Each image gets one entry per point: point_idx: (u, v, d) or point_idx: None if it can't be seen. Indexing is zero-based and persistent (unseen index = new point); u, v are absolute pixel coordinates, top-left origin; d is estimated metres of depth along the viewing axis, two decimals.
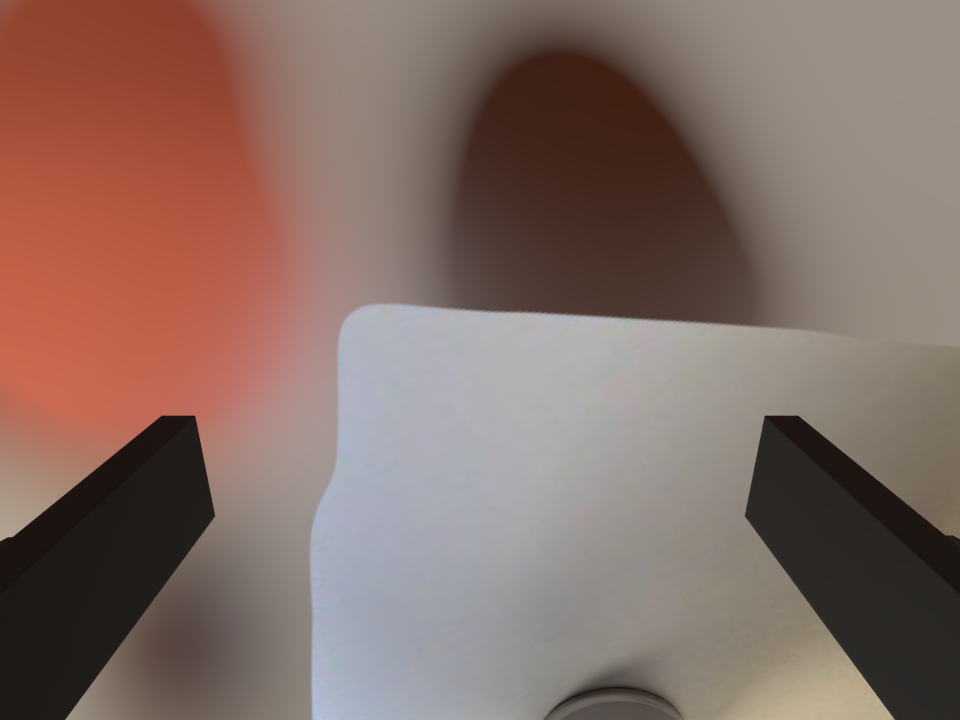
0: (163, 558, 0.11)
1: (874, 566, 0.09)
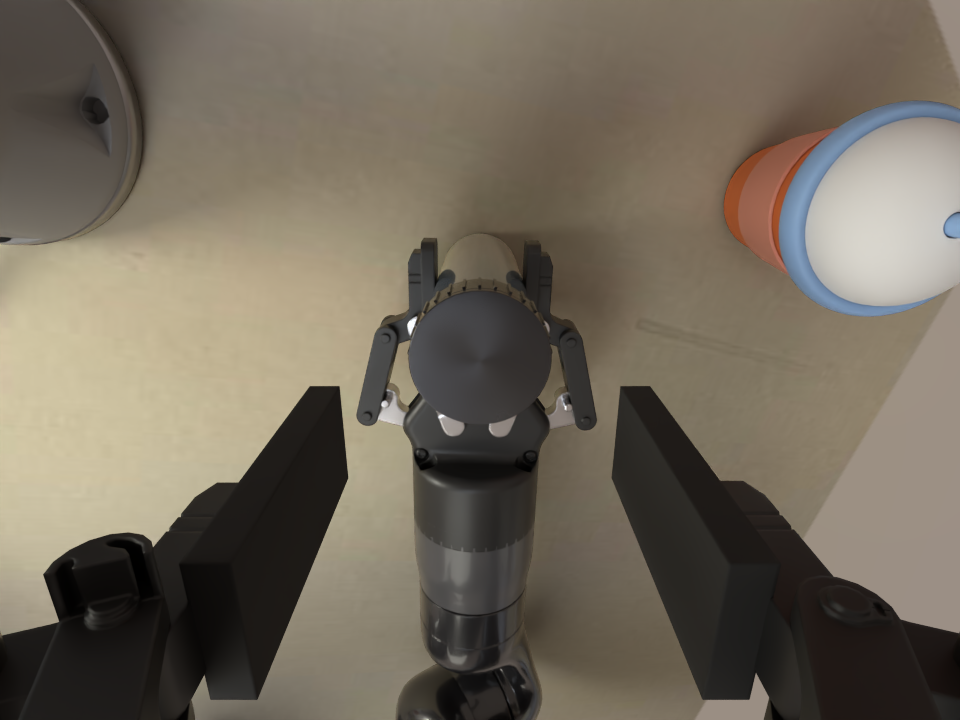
0: (325, 508, 0.13)
1: (666, 504, 0.11)
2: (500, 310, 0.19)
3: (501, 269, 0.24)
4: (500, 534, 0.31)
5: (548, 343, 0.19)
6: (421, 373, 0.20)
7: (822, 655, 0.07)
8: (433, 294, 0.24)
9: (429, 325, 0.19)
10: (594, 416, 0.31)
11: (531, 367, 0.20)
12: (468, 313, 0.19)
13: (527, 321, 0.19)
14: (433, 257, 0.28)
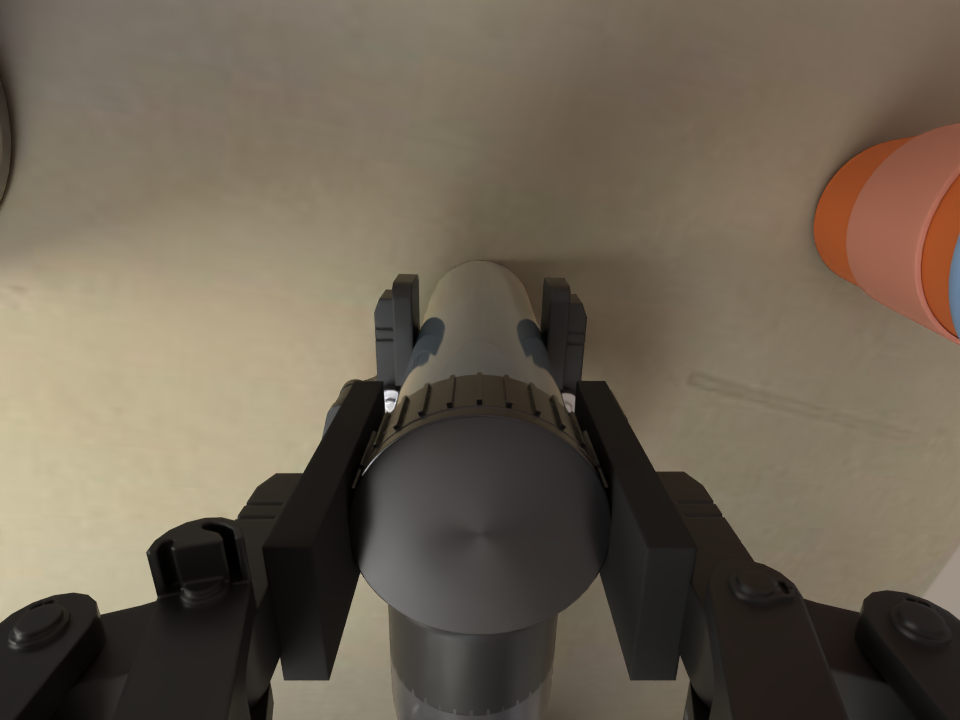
0: None
1: None
2: (519, 449, 0.10)
3: (514, 335, 0.15)
4: (508, 690, 0.22)
5: (608, 505, 0.10)
6: (373, 555, 0.11)
7: (731, 637, 0.07)
8: (405, 377, 0.15)
9: (384, 475, 0.10)
10: None
11: (574, 545, 0.11)
12: (458, 455, 0.10)
13: (570, 468, 0.10)
14: (411, 305, 0.19)
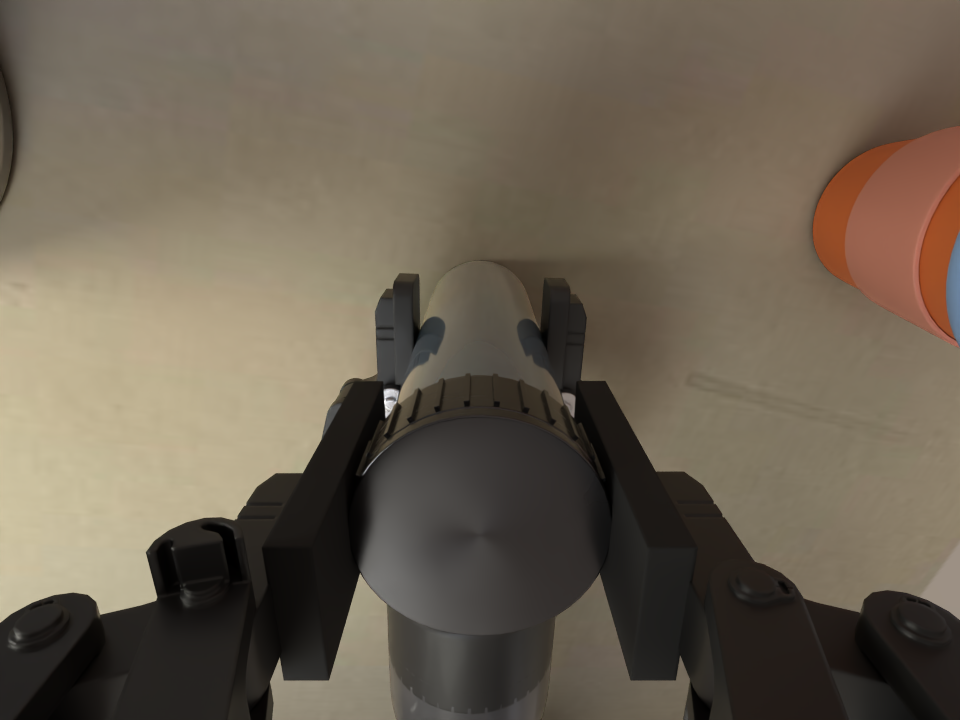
0: None
1: None
2: (380, 507, 0.10)
3: (514, 335, 0.15)
4: (506, 689, 0.22)
5: (438, 423, 0.10)
6: (507, 618, 0.11)
7: (731, 637, 0.07)
8: (405, 376, 0.15)
9: (418, 608, 0.11)
10: None
11: (490, 450, 0.10)
12: (391, 555, 0.11)
13: (396, 463, 0.10)
14: (411, 304, 0.19)
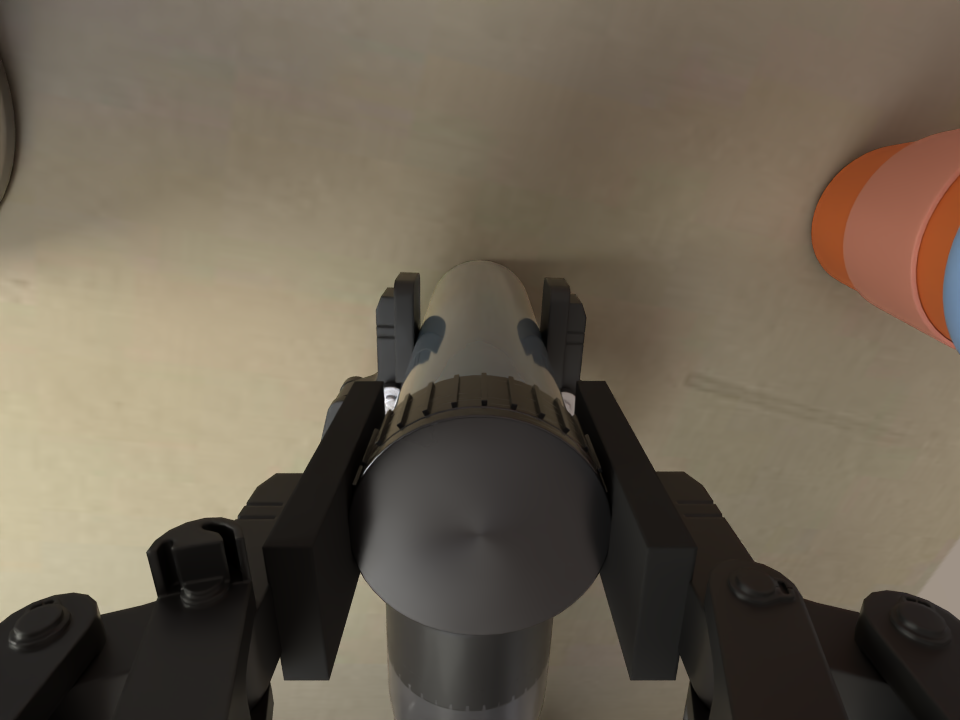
0: None
1: None
2: (452, 612, 0.11)
3: (514, 334, 0.15)
4: (504, 686, 0.22)
5: (360, 569, 0.11)
6: (588, 506, 0.10)
7: (731, 637, 0.07)
8: (406, 374, 0.15)
9: (572, 583, 0.11)
10: None
11: (383, 529, 0.11)
12: (505, 605, 0.11)
13: (403, 599, 0.11)
14: (412, 303, 0.19)
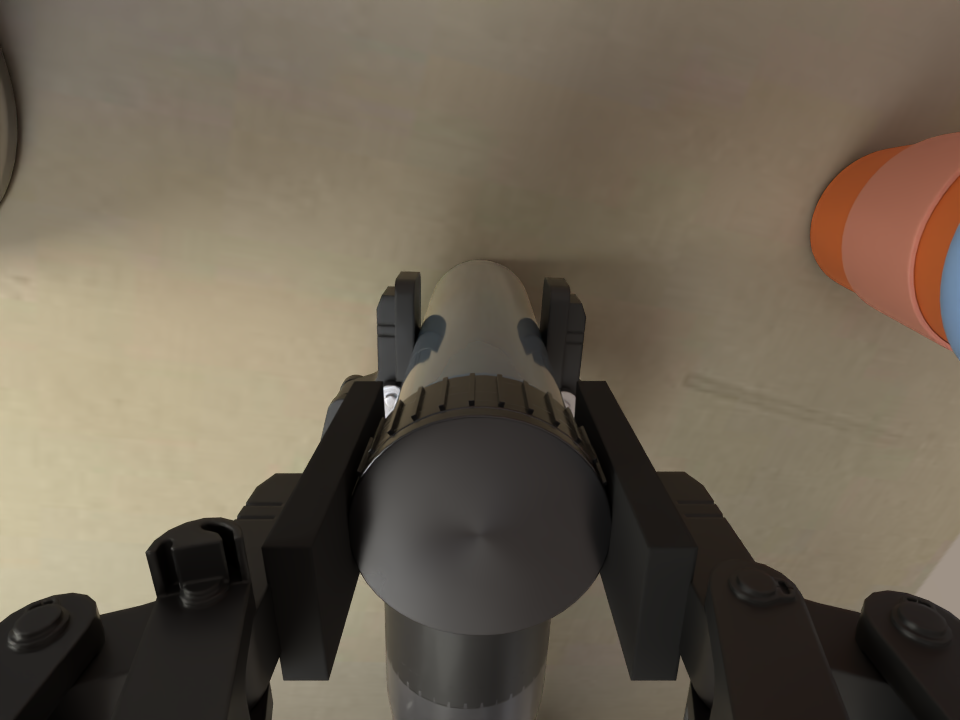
0: None
1: None
2: (578, 556, 0.11)
3: (514, 333, 0.16)
4: (501, 684, 0.22)
5: (523, 627, 0.11)
6: (440, 442, 0.10)
7: (731, 637, 0.07)
8: (407, 373, 0.15)
9: (541, 448, 0.10)
10: None
11: (477, 610, 0.11)
12: (569, 509, 0.10)
13: (560, 596, 0.11)
14: (413, 302, 0.19)
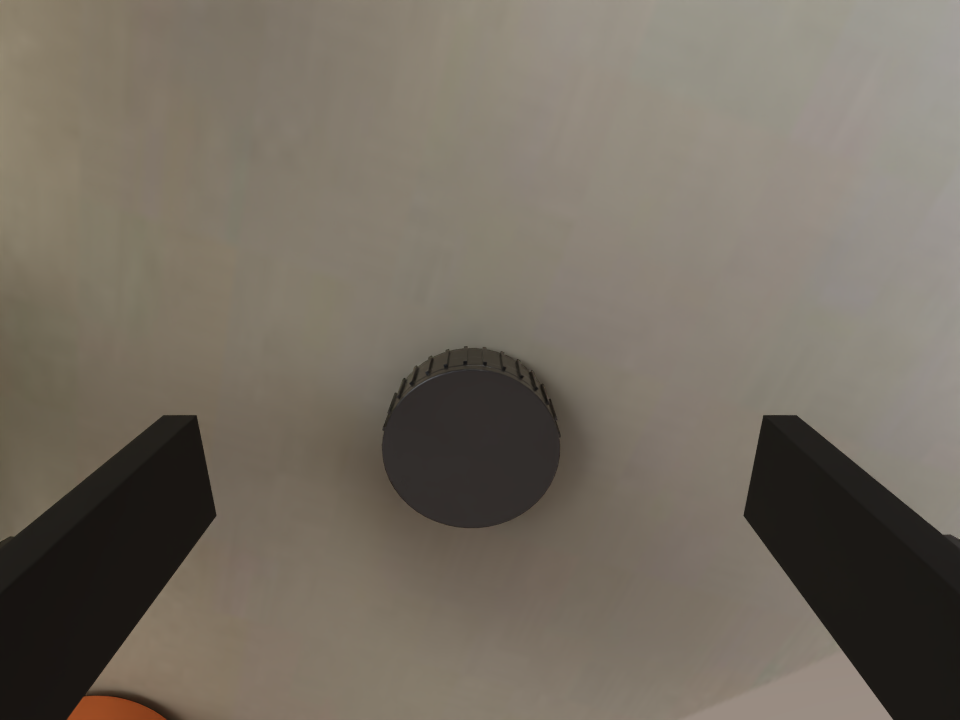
0: (165, 557, 0.11)
1: (872, 565, 0.09)
2: (537, 468, 0.16)
3: None
4: None
5: (502, 522, 0.17)
6: (444, 387, 0.15)
7: None
8: None
9: (510, 391, 0.15)
10: None
11: (469, 509, 0.16)
12: (530, 434, 0.16)
13: (526, 497, 0.16)
14: None
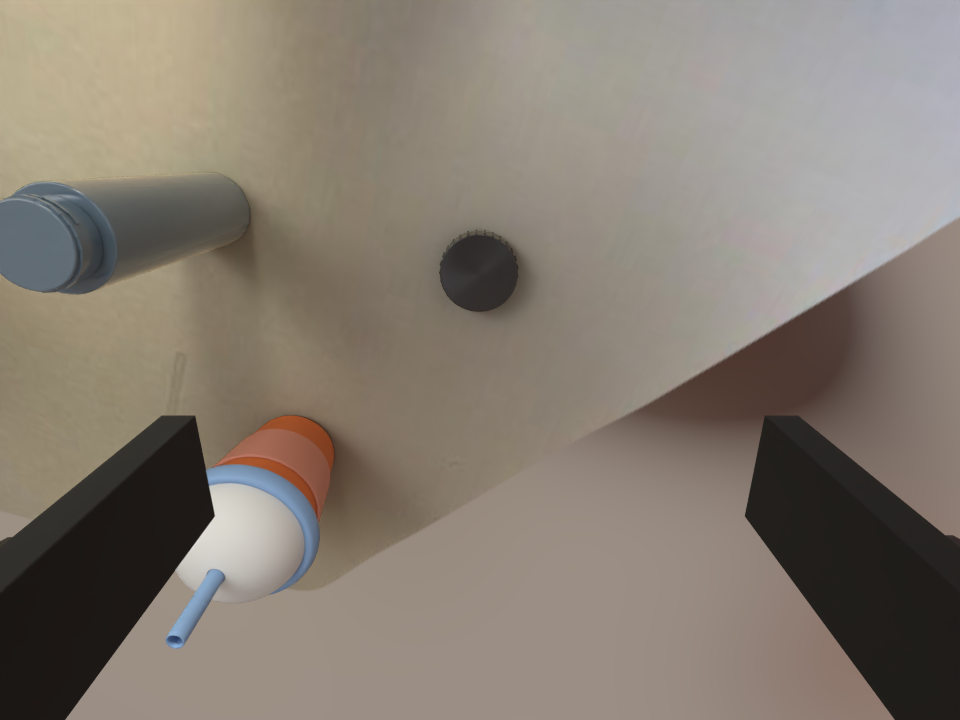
0: (163, 558, 0.11)
1: (874, 566, 0.09)
2: (507, 281, 0.36)
3: (161, 251, 0.27)
4: None
5: (492, 308, 0.37)
6: (467, 243, 0.35)
7: None
8: (122, 188, 0.25)
9: (495, 244, 0.36)
10: None
11: (478, 301, 0.37)
12: (504, 265, 0.36)
13: (503, 296, 0.37)
14: None
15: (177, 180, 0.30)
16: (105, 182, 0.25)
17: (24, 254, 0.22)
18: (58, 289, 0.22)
